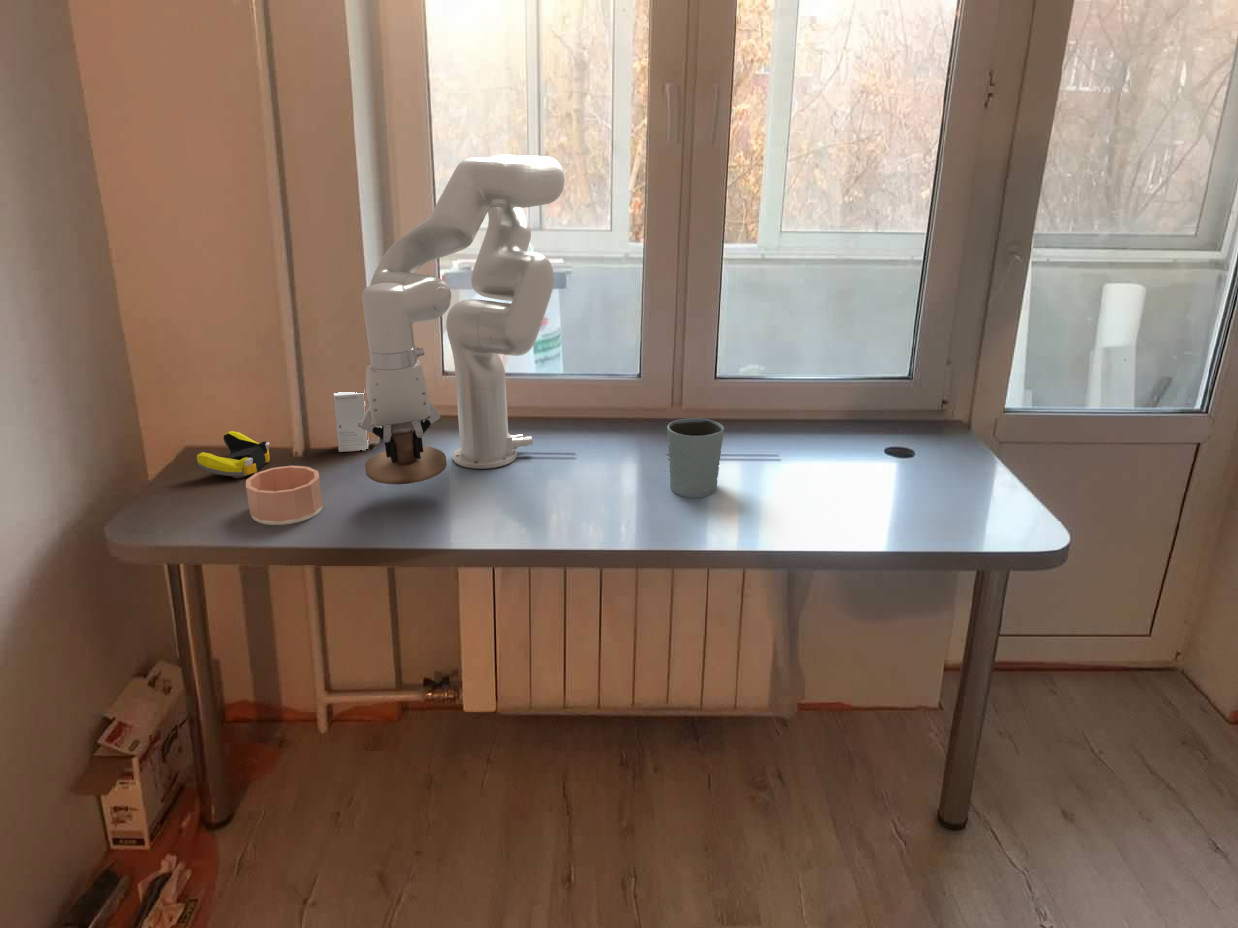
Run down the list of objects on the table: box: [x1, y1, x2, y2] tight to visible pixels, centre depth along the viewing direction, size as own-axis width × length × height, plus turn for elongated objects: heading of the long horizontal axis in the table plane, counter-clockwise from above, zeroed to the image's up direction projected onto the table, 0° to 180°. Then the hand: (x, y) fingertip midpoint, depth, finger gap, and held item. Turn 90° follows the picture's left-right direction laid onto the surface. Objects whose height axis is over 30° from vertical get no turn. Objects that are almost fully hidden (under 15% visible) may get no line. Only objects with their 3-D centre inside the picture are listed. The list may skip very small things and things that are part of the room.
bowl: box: [245, 465, 324, 526], centre depth 168 cm, size 12×12×6 cm
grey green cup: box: [666, 417, 725, 498], centre depth 176 cm, size 10×10×12 cm
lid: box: [364, 428, 448, 485], centre depth 169 cm, size 14×14×7 cm
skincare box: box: [332, 392, 369, 453], centre depth 196 cm, size 6×4×12 cm
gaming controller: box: [196, 430, 271, 479], centre depth 187 cm, size 15×6×10 cm
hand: (405, 457), depth 170 cm, fingers closed on lid, 3 cm apart
